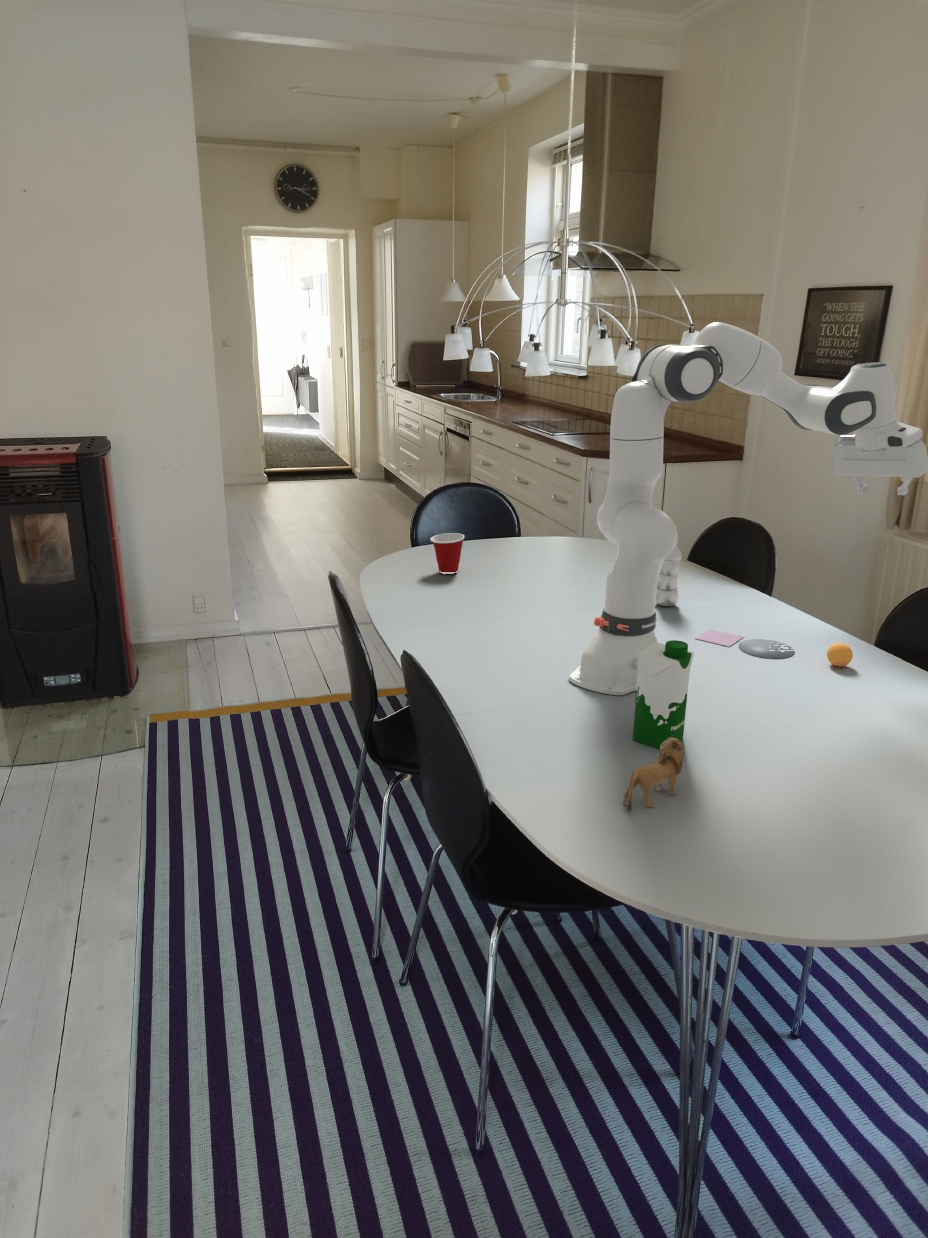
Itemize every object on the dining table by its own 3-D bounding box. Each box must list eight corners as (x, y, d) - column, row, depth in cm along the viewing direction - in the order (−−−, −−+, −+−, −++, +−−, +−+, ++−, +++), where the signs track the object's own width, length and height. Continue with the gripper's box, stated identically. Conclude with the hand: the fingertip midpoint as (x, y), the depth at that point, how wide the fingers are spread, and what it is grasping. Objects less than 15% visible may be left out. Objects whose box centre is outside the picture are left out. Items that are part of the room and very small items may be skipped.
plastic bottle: (678, 609, 238) (684, 539, 232) (653, 607, 239) (658, 538, 233) (677, 602, 244) (683, 534, 238) (653, 601, 245) (658, 533, 239)
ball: (846, 672, 195) (850, 649, 194) (822, 666, 199) (825, 644, 197) (853, 665, 199) (857, 643, 198) (829, 659, 203) (832, 637, 201)
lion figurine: (661, 776, 150) (665, 730, 147) (688, 787, 146) (693, 739, 144) (614, 809, 140) (618, 760, 137) (642, 821, 136) (646, 771, 133)
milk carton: (668, 755, 157) (678, 653, 151) (625, 740, 163) (632, 642, 156) (689, 738, 164) (699, 640, 157) (647, 724, 169) (654, 629, 163)
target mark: (783, 663, 200) (783, 662, 200) (729, 650, 208) (730, 649, 208) (802, 647, 210) (802, 647, 210) (750, 636, 218) (750, 635, 218)
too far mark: (729, 647, 210) (729, 646, 210) (695, 639, 216) (695, 638, 216) (743, 637, 217) (743, 636, 217) (710, 629, 222) (710, 629, 222)
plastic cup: (426, 569, 276) (426, 533, 272) (458, 567, 279) (458, 531, 275) (435, 578, 266) (435, 541, 262) (468, 576, 269) (469, 538, 265)
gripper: (825, 440, 197) (832, 496, 202) (914, 439, 180) (919, 500, 185) (841, 430, 199) (847, 486, 205) (929, 429, 183) (934, 490, 188)
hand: (882, 493), depth 195 cm, fingers open, 8 cm apart
